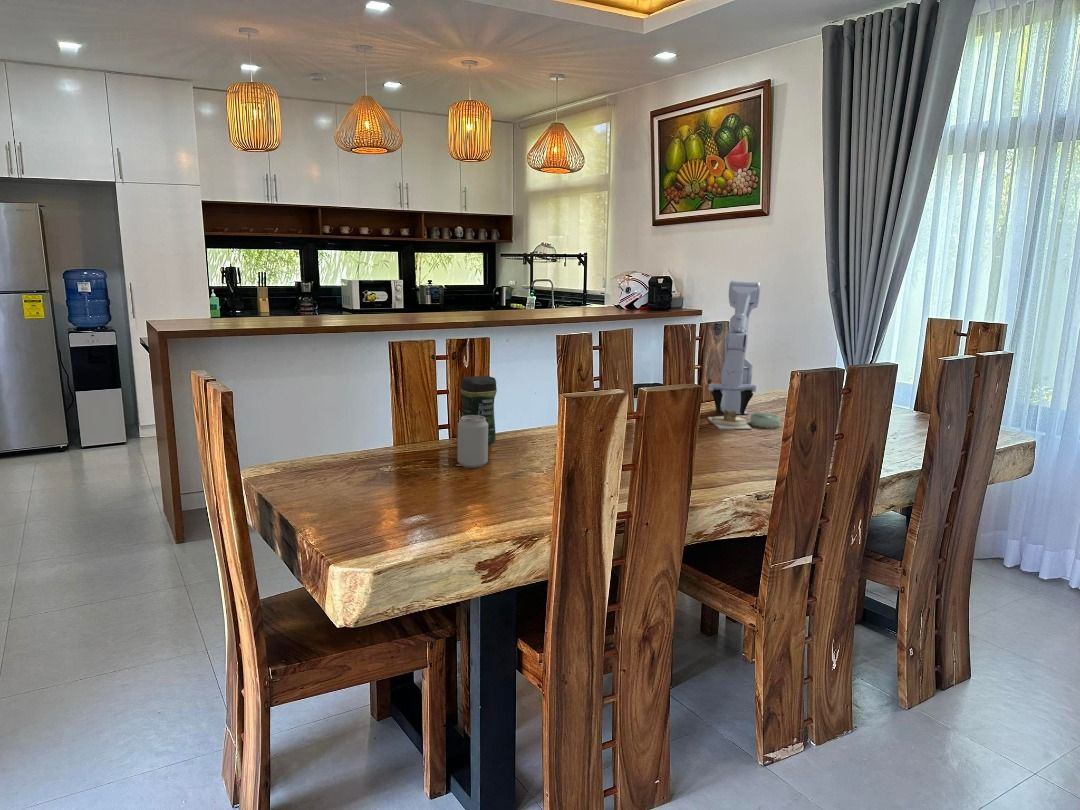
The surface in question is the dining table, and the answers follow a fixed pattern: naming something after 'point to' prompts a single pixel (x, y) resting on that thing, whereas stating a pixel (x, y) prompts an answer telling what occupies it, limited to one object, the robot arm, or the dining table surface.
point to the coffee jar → (480, 400)
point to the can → (472, 441)
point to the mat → (730, 426)
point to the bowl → (765, 419)
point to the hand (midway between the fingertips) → (730, 413)
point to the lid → (729, 419)
